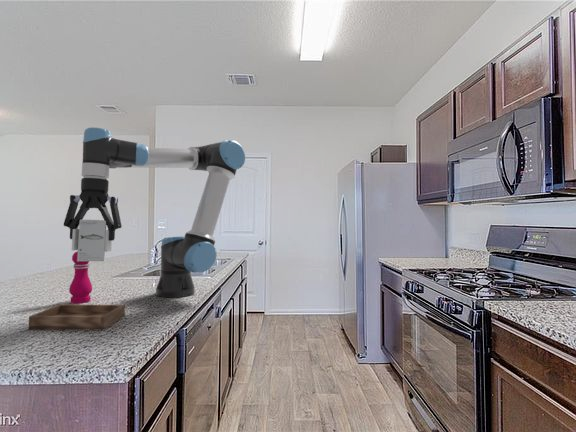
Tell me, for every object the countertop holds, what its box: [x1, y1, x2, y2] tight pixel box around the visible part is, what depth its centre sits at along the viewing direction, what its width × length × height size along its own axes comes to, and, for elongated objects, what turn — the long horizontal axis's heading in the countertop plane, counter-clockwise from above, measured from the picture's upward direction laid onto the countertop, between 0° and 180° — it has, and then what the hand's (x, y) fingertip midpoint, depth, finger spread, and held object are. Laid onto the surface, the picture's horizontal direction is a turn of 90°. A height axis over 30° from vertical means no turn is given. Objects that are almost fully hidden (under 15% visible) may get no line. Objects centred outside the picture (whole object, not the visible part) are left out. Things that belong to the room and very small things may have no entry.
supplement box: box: [77, 219, 107, 262], centre depth 112 cm, size 7×7×13 cm
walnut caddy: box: [28, 303, 126, 331], centre depth 105 cm, size 20×14×4 cm
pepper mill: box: [68, 250, 93, 304], centre depth 131 cm, size 7×7×20 cm
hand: (91, 250), depth 112 cm, fingers closed on supplement box, 9 cm apart
